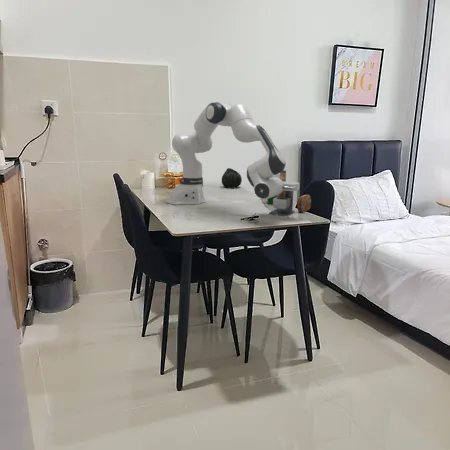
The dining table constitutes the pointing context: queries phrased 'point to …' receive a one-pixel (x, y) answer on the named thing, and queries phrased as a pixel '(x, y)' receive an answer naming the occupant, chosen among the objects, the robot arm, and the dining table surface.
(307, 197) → the tin
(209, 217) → the dining table surface
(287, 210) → the bracket
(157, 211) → the dining table surface
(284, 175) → the brown wooden rod
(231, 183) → the squash
